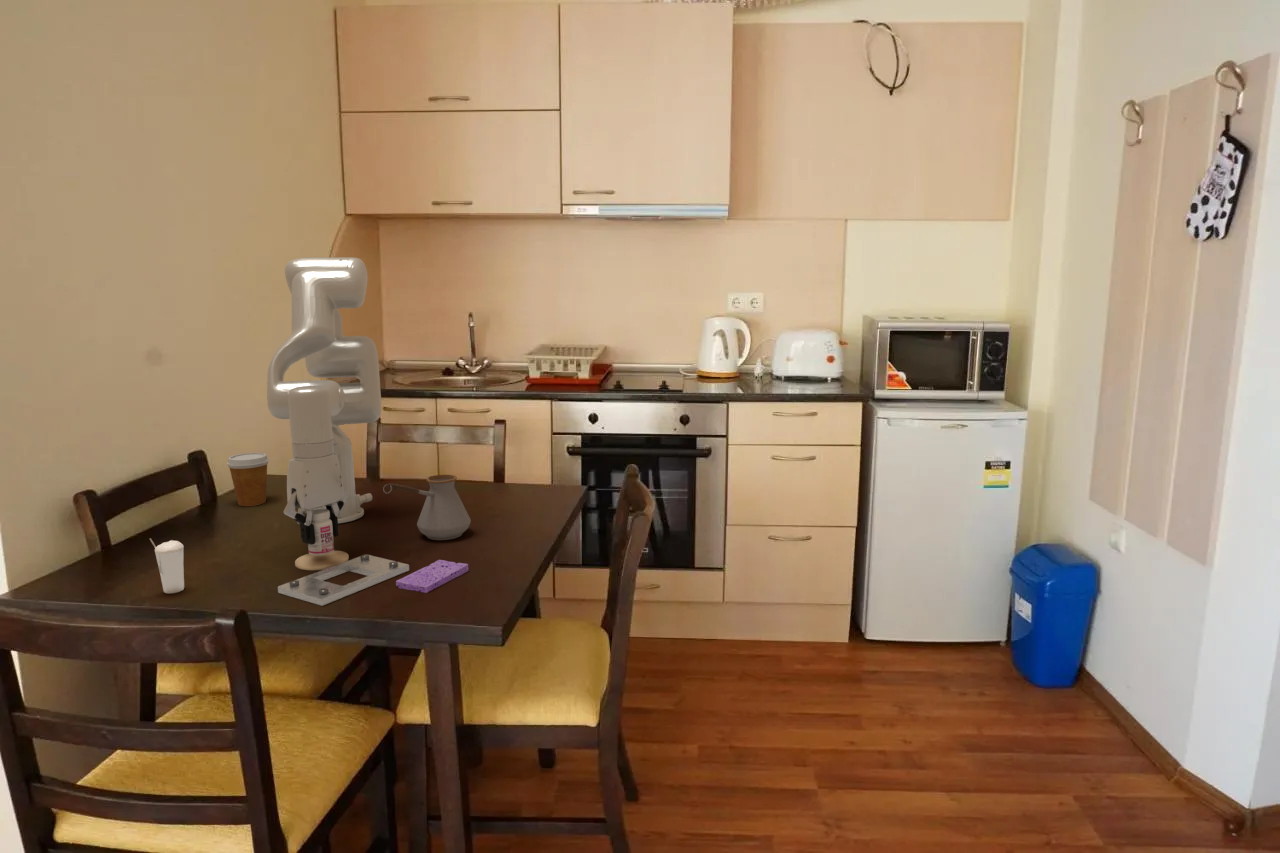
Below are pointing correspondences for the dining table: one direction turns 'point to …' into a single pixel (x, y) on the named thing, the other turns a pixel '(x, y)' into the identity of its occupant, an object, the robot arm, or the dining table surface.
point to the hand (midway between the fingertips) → (320, 538)
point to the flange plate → (325, 592)
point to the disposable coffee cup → (249, 477)
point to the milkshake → (170, 565)
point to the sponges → (432, 576)
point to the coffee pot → (440, 508)
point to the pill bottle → (322, 533)
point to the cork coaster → (321, 561)
